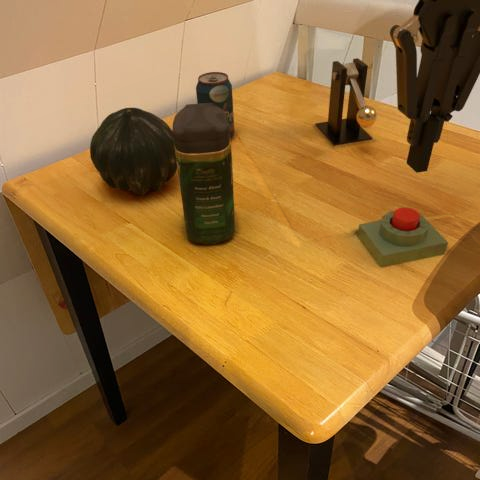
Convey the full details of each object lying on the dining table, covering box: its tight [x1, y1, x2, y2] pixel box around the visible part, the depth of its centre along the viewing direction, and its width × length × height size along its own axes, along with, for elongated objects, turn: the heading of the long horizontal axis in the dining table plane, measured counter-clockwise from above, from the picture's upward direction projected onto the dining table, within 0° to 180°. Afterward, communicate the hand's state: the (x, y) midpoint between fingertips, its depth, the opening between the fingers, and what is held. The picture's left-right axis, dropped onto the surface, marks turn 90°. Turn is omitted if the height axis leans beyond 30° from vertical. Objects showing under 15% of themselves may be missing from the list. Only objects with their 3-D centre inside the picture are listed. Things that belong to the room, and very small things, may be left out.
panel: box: [357, 210, 449, 268], centre depth 71 cm, size 10×8×4 cm
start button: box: [392, 207, 420, 231], centre depth 69 cm, size 4×4×2 cm
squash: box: [89, 107, 178, 197], centre depth 84 cm, size 14×15×15 cm
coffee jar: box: [171, 103, 236, 245], centre depth 71 cm, size 10×8×19 cm
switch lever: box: [342, 61, 378, 129], centre depth 88 cm, size 13×4×4 cm, turn 14°
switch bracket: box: [315, 57, 373, 147], centre depth 93 cm, size 10×8×14 cm
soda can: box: [195, 71, 235, 141], centre depth 96 cm, size 7×7×12 cm
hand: (416, 166), depth 63 cm, fingers closed
